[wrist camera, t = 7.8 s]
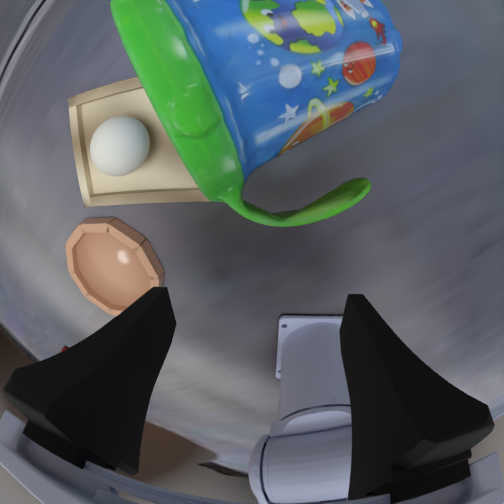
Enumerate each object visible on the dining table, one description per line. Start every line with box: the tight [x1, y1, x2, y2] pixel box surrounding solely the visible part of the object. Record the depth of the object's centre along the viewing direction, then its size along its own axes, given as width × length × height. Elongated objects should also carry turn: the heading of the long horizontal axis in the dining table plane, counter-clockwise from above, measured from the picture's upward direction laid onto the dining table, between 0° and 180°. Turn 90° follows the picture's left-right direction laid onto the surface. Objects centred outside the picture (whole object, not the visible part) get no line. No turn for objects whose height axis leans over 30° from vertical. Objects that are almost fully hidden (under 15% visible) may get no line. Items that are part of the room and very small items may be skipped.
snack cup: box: [110, 0, 403, 227], centre depth 10 cm, size 16×10×10 cm
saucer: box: [66, 217, 164, 316], centre depth 23 cm, size 10×10×1 cm
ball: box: [90, 115, 150, 177], centre depth 15 cm, size 4×4×4 cm
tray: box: [68, 77, 212, 207], centre depth 17 cm, size 9×11×1 cm
